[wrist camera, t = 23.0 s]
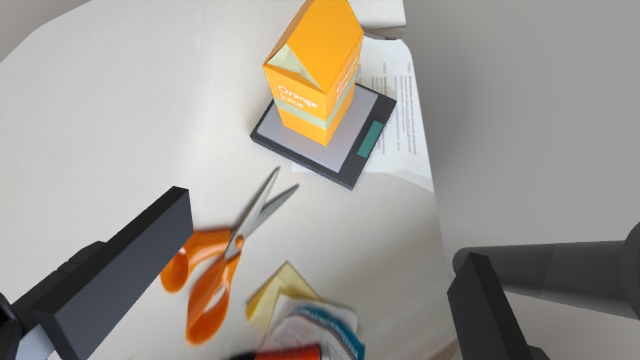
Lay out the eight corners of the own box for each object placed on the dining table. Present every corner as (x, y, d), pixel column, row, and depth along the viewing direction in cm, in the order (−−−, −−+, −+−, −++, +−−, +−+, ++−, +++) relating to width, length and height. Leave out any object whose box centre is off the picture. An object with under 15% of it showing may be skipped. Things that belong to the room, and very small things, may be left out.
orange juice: (353, 100, 45) (372, -16, 25) (327, 147, 43) (326, 61, 24) (309, 80, 46) (296, -46, 27) (282, 125, 44) (246, 25, 25)
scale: (394, 107, 48) (398, 97, 45) (351, 190, 44) (353, 186, 41) (299, 64, 50) (297, 53, 47) (252, 141, 47) (247, 133, 44)
